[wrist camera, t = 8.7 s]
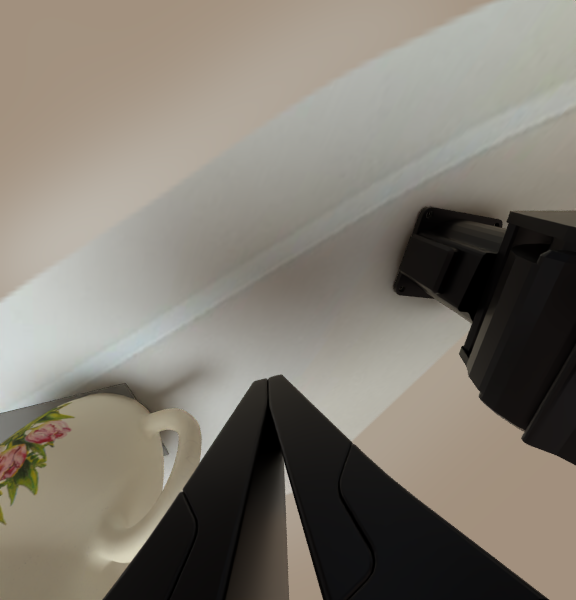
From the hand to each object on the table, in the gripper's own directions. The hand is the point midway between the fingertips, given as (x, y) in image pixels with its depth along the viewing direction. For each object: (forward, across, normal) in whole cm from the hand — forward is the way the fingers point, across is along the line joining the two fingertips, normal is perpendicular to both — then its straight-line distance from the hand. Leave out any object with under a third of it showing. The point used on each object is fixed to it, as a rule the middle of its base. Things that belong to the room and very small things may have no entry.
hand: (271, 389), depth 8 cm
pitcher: (+12, -14, -10) cm, 21 cm away
